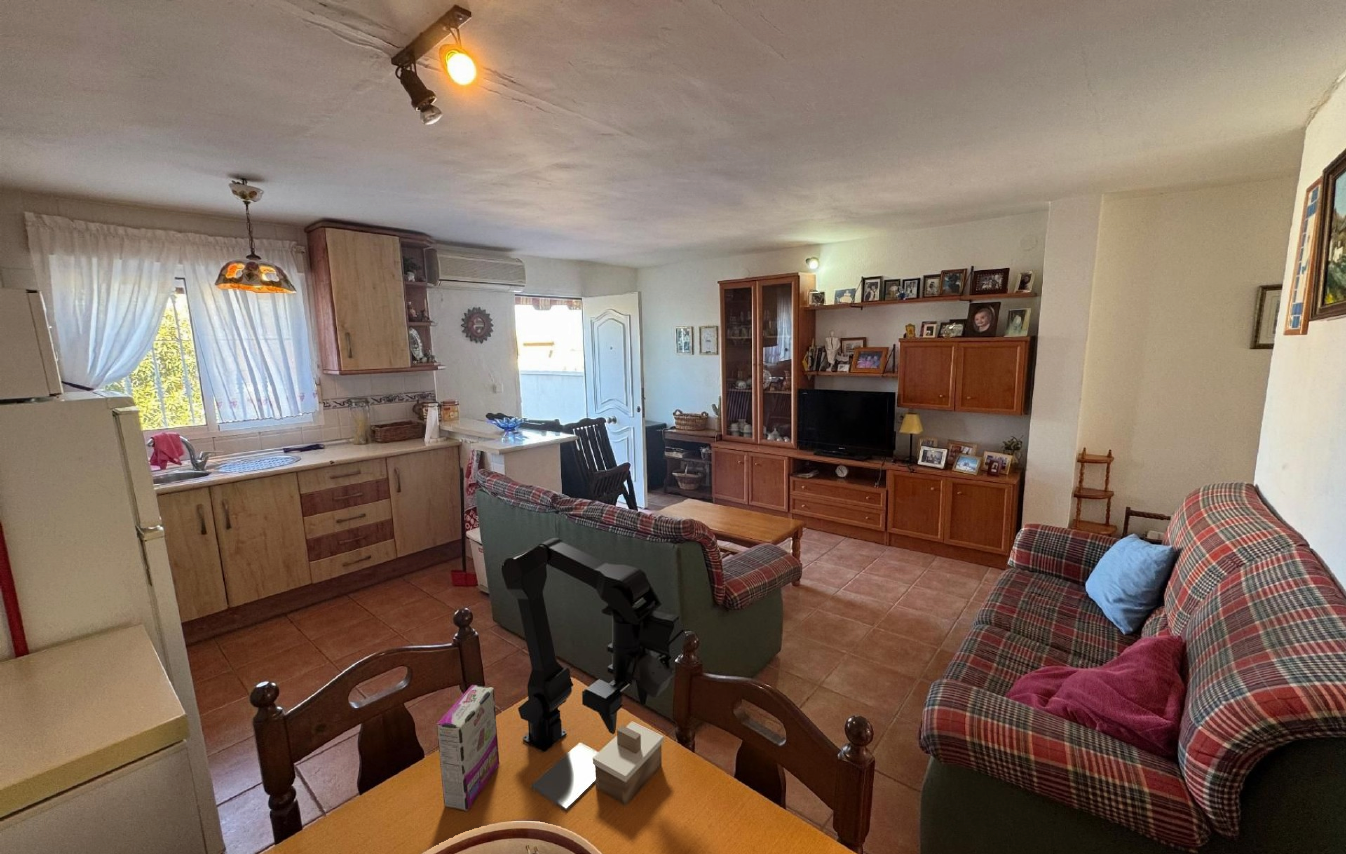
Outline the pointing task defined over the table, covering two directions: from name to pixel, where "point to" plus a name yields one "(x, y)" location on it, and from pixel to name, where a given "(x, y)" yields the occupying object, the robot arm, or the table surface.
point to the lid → (628, 750)
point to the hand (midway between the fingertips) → (628, 718)
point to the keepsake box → (633, 784)
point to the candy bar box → (468, 746)
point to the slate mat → (568, 777)
